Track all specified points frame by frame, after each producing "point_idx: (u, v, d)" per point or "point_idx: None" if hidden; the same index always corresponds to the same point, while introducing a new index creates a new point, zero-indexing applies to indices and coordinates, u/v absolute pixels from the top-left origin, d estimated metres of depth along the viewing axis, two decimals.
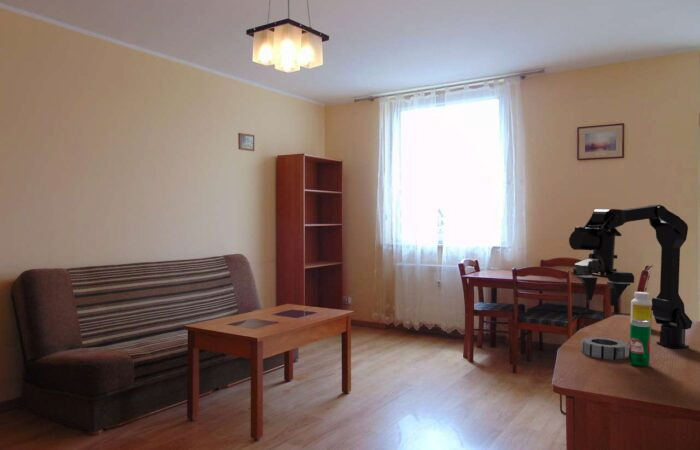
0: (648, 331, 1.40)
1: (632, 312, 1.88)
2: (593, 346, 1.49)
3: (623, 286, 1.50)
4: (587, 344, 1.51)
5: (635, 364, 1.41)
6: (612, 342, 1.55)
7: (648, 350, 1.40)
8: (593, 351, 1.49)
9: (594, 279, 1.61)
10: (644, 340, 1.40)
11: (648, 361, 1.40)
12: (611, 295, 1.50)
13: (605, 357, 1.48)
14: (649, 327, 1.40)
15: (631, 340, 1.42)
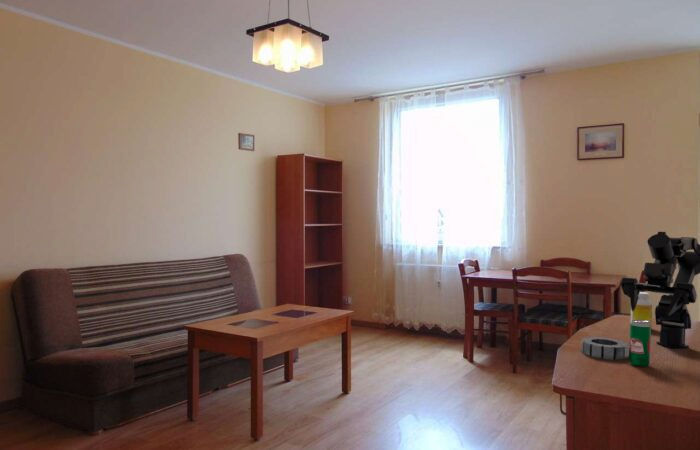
0: (648, 331, 1.40)
1: (632, 312, 1.88)
2: (593, 346, 1.49)
3: (682, 303, 1.46)
4: (587, 344, 1.51)
5: (635, 364, 1.41)
6: (612, 342, 1.55)
7: (648, 350, 1.40)
8: (593, 351, 1.49)
9: (637, 296, 1.55)
10: (644, 340, 1.40)
11: (648, 361, 1.40)
12: (672, 304, 1.45)
13: (605, 357, 1.48)
14: (649, 327, 1.40)
15: (631, 340, 1.42)
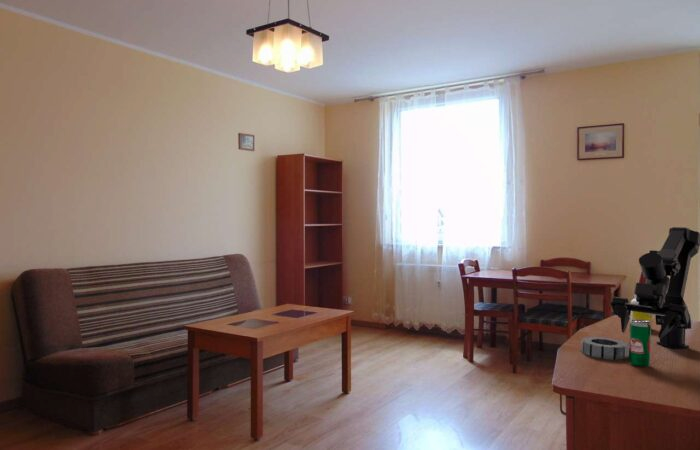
0: (648, 331, 1.40)
1: (632, 312, 1.88)
2: (593, 346, 1.49)
3: (673, 325, 1.41)
4: (587, 344, 1.51)
5: (635, 364, 1.41)
6: (612, 342, 1.55)
7: (648, 350, 1.40)
8: (593, 351, 1.49)
9: (628, 317, 1.50)
10: (644, 340, 1.40)
11: (648, 361, 1.40)
12: (664, 326, 1.40)
13: (605, 357, 1.48)
14: (649, 327, 1.40)
15: (631, 340, 1.42)
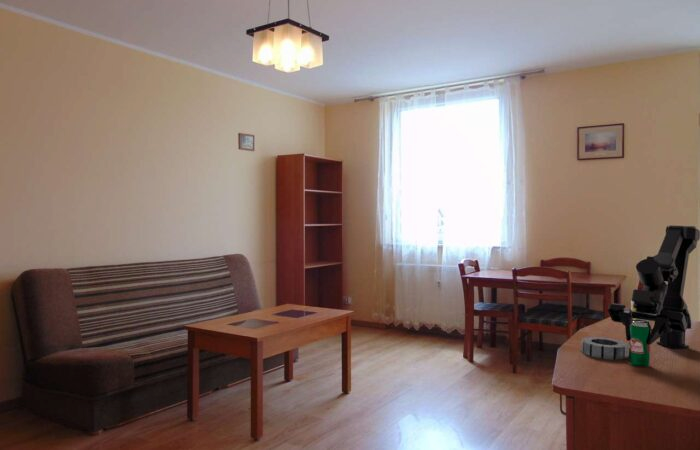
0: (648, 331, 1.40)
1: None
2: (593, 346, 1.49)
3: (663, 331, 1.42)
4: (587, 344, 1.51)
5: (635, 364, 1.41)
6: (612, 342, 1.55)
7: (648, 350, 1.40)
8: (593, 351, 1.49)
9: None
10: (644, 340, 1.40)
11: (648, 361, 1.40)
12: (653, 332, 1.40)
13: (605, 357, 1.48)
14: (649, 327, 1.40)
15: (631, 340, 1.42)
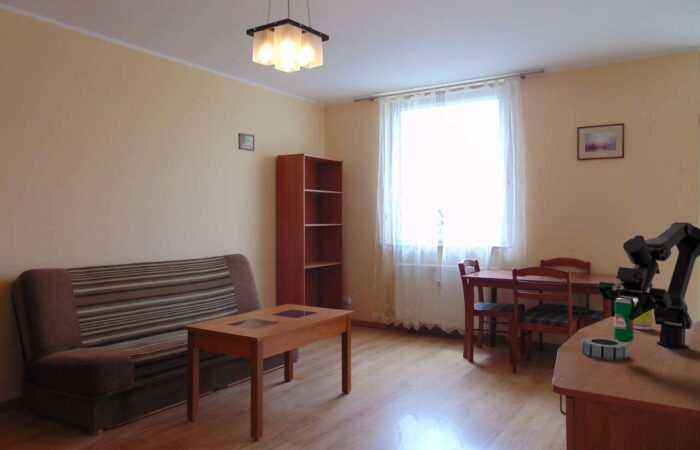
0: (630, 307, 1.44)
1: None
2: (593, 346, 1.49)
3: (648, 307, 1.45)
4: (587, 344, 1.51)
5: (618, 339, 1.45)
6: (612, 342, 1.55)
7: (631, 326, 1.44)
8: (593, 351, 1.49)
9: None
10: (626, 316, 1.44)
11: (631, 336, 1.44)
12: (636, 308, 1.44)
13: (605, 357, 1.48)
14: (632, 303, 1.44)
15: (615, 316, 1.46)
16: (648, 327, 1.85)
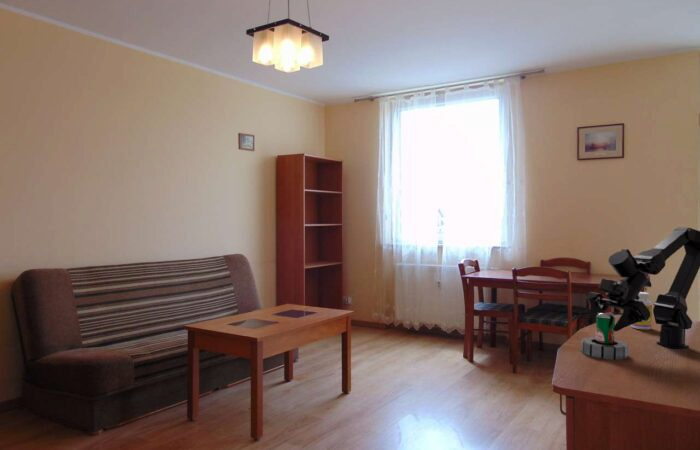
0: (609, 322, 1.50)
1: None
2: (593, 346, 1.49)
3: (634, 320, 1.48)
4: (587, 344, 1.51)
5: None
6: None
7: (610, 340, 1.51)
8: (593, 351, 1.49)
9: (602, 311, 1.59)
10: (605, 330, 1.51)
11: None
12: (620, 320, 1.48)
13: (605, 357, 1.48)
14: (611, 319, 1.50)
15: None
16: (648, 327, 1.85)
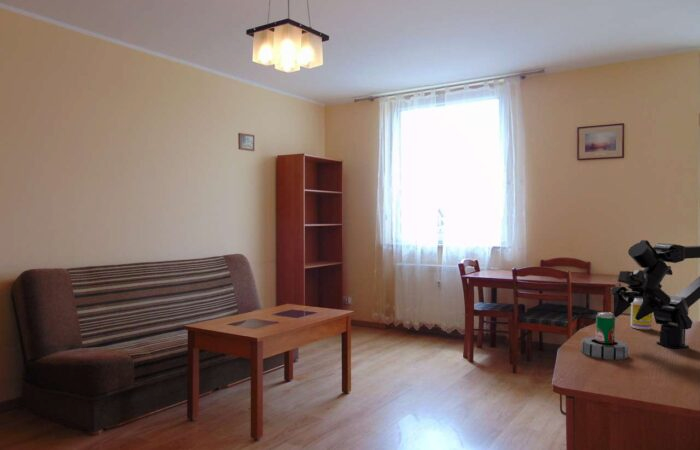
0: (609, 322, 1.50)
1: (632, 312, 1.88)
2: (593, 346, 1.49)
3: (655, 307, 1.52)
4: (587, 344, 1.51)
5: None
6: None
7: (610, 340, 1.51)
8: (593, 351, 1.49)
9: (628, 303, 1.63)
10: (605, 330, 1.51)
11: None
12: (640, 308, 1.52)
13: (605, 357, 1.48)
14: (611, 319, 1.50)
15: (596, 330, 1.54)
16: (648, 327, 1.85)
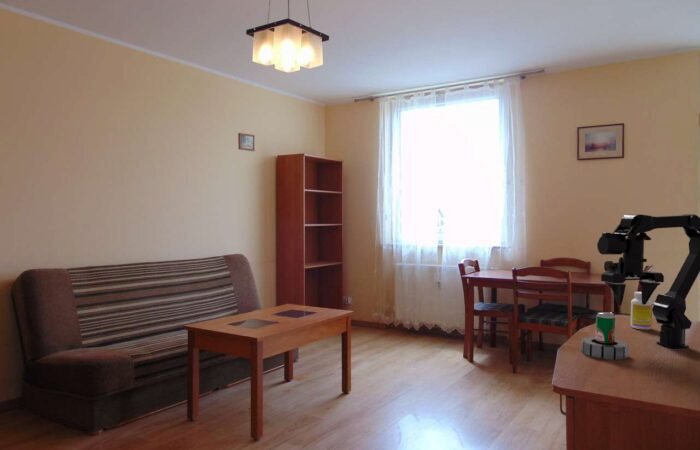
0: (609, 322, 1.50)
1: (632, 312, 1.88)
2: (593, 346, 1.49)
3: (618, 287, 1.58)
4: (587, 344, 1.51)
5: None
6: None
7: (610, 340, 1.51)
8: (593, 351, 1.49)
9: (650, 284, 1.61)
10: (605, 330, 1.51)
11: None
12: None
13: (605, 357, 1.48)
14: (611, 319, 1.50)
15: (596, 330, 1.54)
16: (648, 327, 1.85)
